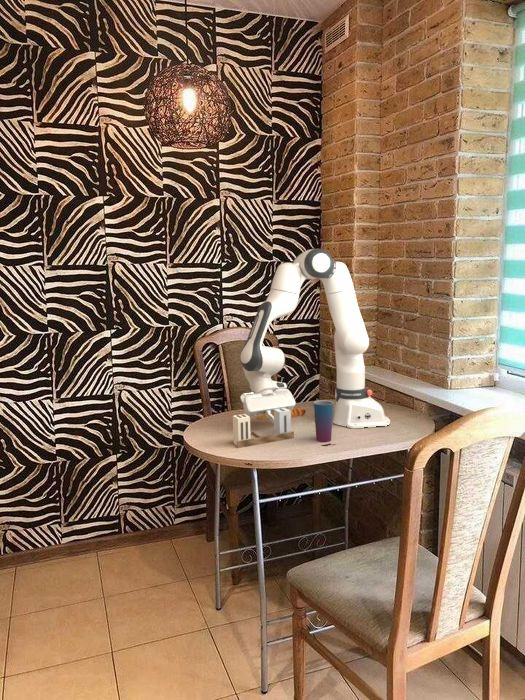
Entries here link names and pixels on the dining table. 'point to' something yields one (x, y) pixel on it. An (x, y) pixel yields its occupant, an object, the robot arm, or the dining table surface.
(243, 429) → the key two
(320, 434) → the cup
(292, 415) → the croissant
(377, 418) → the robot arm
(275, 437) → the rail board
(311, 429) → the dining table surface
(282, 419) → the key one
